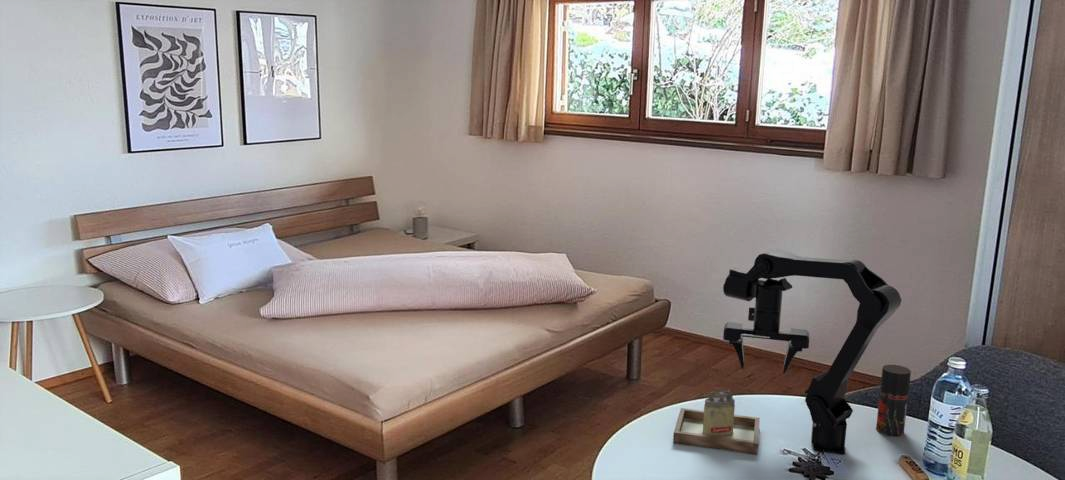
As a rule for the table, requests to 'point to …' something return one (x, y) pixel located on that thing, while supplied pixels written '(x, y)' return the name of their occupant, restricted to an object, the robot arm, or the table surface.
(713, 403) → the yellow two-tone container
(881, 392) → the deodorant
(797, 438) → the table surface
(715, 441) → the tray
